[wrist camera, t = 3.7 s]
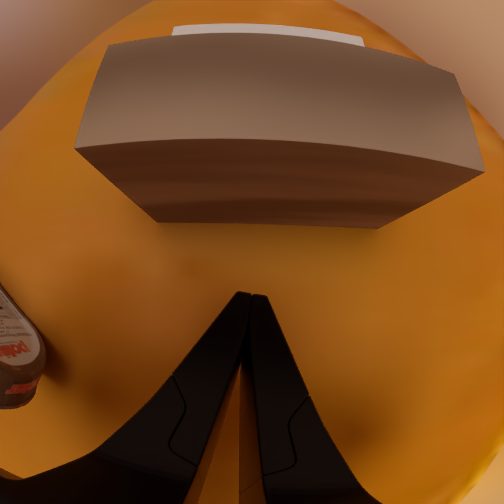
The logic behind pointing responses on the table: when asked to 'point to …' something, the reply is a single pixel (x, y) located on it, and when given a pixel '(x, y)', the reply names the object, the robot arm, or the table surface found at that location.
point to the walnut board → (275, 130)
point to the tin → (18, 355)
